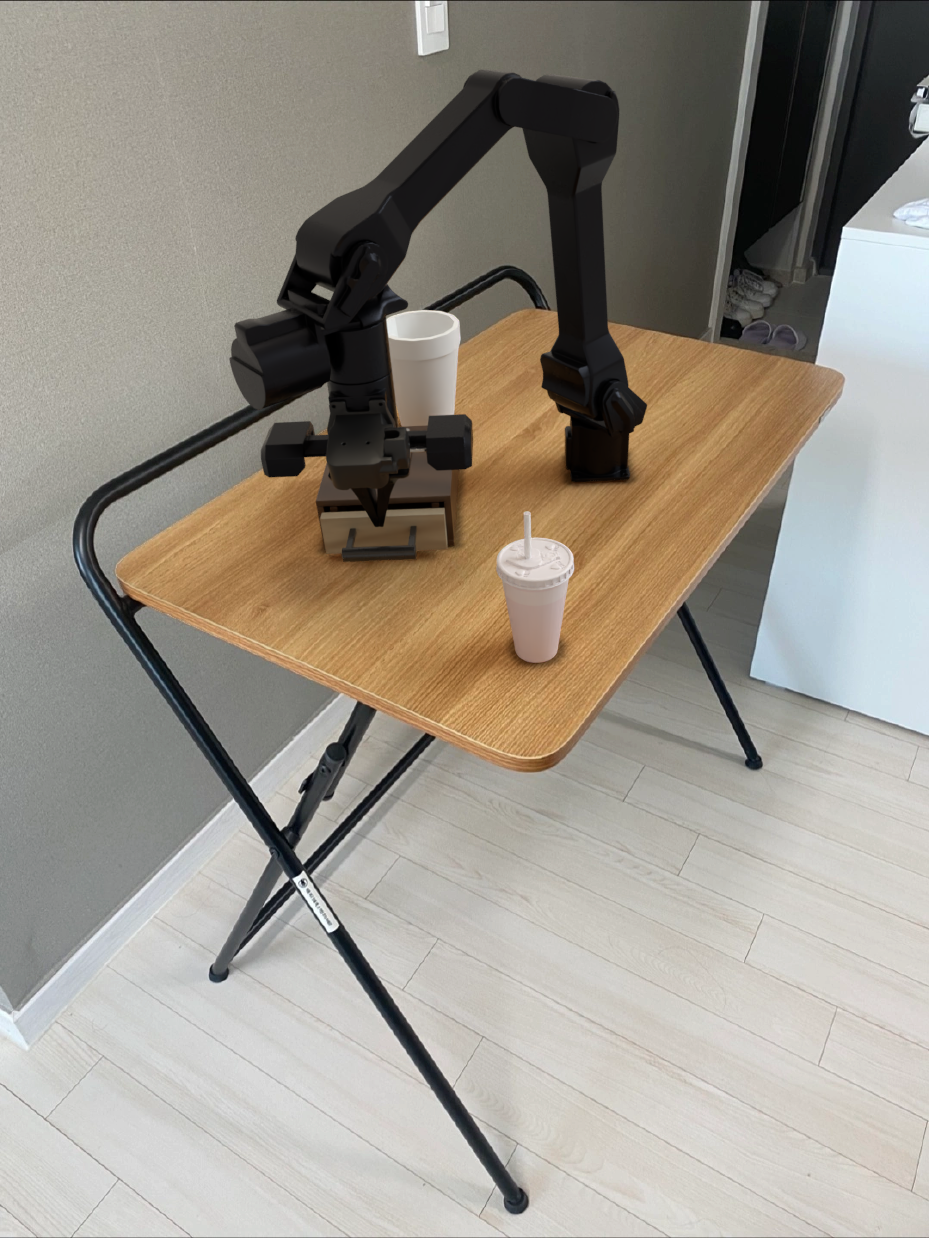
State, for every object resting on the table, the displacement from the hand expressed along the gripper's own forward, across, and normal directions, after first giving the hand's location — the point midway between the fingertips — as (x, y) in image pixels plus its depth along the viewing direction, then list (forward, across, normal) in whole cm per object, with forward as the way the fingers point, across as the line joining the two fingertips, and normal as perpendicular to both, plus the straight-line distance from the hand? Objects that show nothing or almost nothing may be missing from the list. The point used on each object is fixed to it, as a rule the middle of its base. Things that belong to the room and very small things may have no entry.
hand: (379, 525), depth 92 cm
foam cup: (+5, +2, +30) cm, 31 cm away
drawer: (+4, 0, +7) cm, 8 cm away
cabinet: (+5, 0, +12) cm, 13 cm away
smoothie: (+5, +14, -13) cm, 20 cm away
